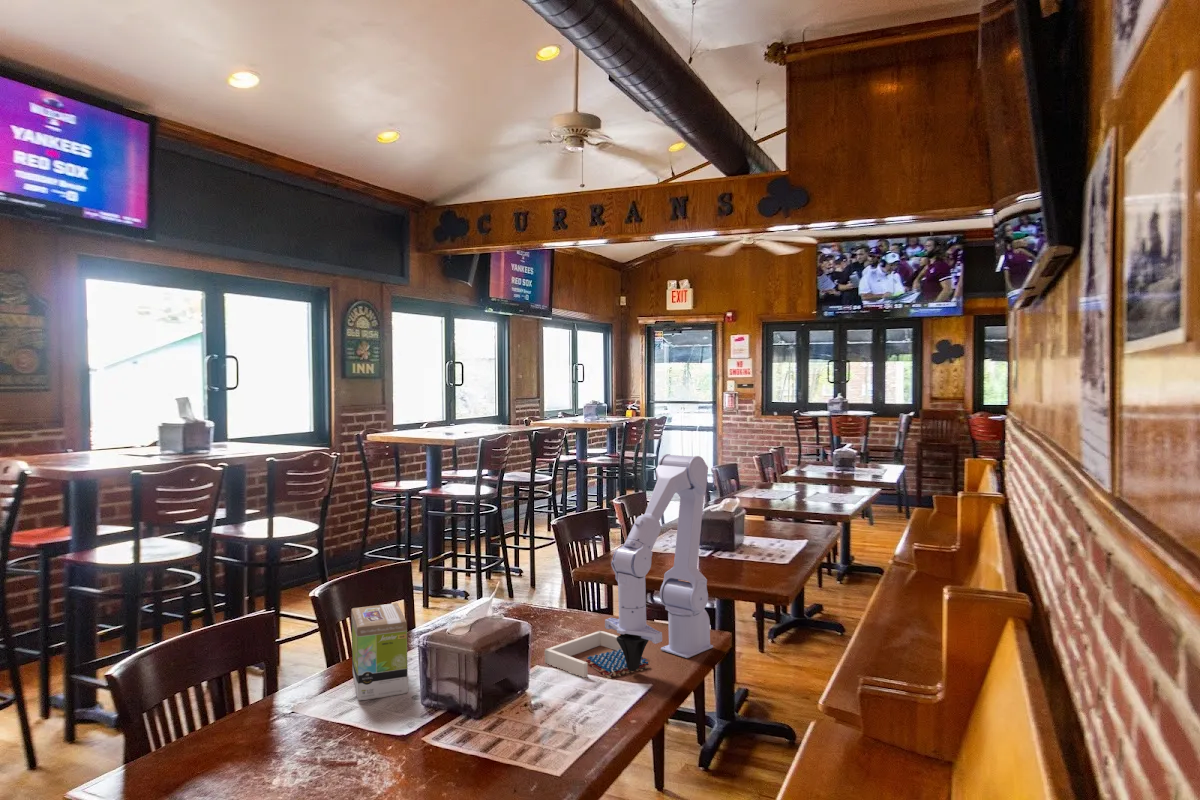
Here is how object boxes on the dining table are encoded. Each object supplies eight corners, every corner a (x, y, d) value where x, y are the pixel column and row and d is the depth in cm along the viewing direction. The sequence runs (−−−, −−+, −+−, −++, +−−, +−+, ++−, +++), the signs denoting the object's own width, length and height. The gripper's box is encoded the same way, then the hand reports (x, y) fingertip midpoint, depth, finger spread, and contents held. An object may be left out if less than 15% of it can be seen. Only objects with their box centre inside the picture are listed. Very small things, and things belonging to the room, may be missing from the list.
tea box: (410, 693, 155) (407, 620, 155) (357, 702, 152) (354, 627, 151) (400, 668, 169) (397, 600, 169) (351, 675, 166) (349, 606, 165)
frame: (600, 643, 182) (600, 630, 182) (640, 656, 173) (639, 642, 173) (545, 663, 170) (544, 649, 170) (584, 678, 161) (583, 663, 161)
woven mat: (583, 665, 169) (583, 655, 169) (625, 655, 175) (625, 646, 175) (607, 681, 160) (607, 671, 160) (650, 670, 166) (650, 660, 165)
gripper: (594, 602, 164) (595, 665, 165) (645, 616, 154) (646, 684, 154) (617, 595, 169) (618, 656, 170) (668, 608, 159) (669, 674, 159)
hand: (633, 669), depth 162 cm, fingers closed
